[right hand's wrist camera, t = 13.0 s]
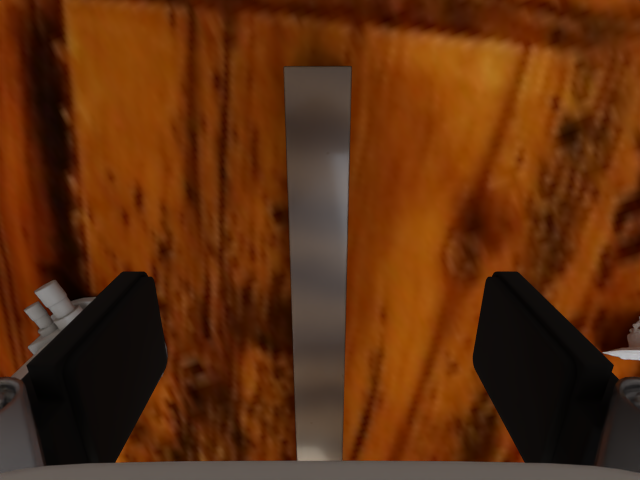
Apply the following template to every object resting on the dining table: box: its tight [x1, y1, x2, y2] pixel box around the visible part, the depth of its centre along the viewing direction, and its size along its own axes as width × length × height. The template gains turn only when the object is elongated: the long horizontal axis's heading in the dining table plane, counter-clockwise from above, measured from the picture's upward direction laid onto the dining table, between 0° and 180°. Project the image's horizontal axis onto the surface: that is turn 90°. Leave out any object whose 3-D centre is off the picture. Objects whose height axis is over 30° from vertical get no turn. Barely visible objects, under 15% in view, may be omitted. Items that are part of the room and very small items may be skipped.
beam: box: [284, 66, 352, 461], centre depth 42 cm, size 67×4×7 cm, turn 0°
